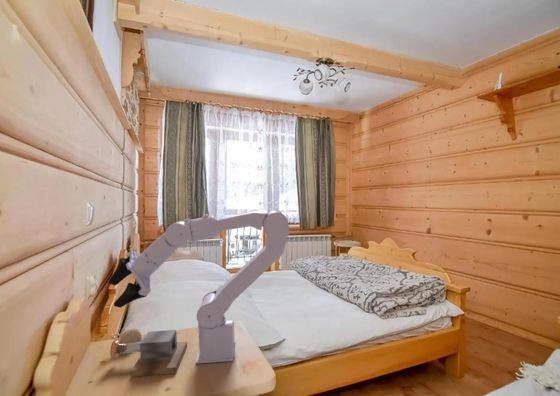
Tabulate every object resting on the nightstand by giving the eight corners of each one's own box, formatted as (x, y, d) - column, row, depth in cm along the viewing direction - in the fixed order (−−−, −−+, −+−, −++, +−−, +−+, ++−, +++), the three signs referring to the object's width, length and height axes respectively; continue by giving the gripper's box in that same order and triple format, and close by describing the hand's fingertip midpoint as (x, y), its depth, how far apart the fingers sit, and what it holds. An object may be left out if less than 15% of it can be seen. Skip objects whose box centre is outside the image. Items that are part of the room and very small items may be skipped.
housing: (187, 346, 85) (186, 324, 84) (176, 373, 73) (174, 347, 72) (149, 349, 84) (147, 326, 84) (131, 376, 72) (129, 350, 72)
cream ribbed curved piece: (145, 345, 86) (144, 327, 86) (112, 356, 81) (111, 337, 81) (141, 339, 89) (140, 322, 89) (110, 350, 84) (109, 331, 84)
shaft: (160, 349, 80) (159, 334, 80) (155, 357, 76) (154, 342, 76) (118, 352, 79) (117, 337, 79) (110, 360, 75) (109, 345, 75)
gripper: (134, 234, 79) (96, 270, 79) (149, 272, 70) (105, 313, 69) (154, 244, 85) (118, 277, 84) (170, 280, 75) (130, 318, 75)
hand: (114, 294), depth 77 cm, fingers open, 7 cm apart
